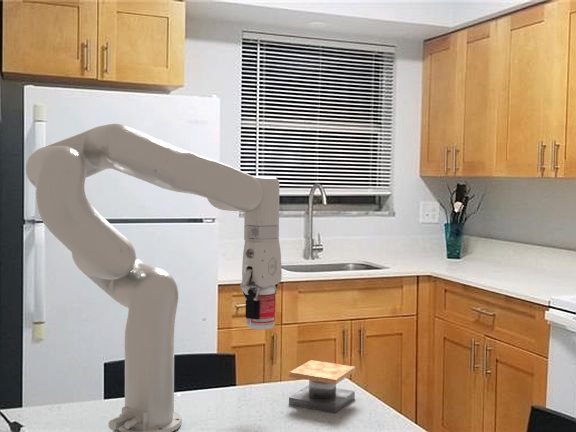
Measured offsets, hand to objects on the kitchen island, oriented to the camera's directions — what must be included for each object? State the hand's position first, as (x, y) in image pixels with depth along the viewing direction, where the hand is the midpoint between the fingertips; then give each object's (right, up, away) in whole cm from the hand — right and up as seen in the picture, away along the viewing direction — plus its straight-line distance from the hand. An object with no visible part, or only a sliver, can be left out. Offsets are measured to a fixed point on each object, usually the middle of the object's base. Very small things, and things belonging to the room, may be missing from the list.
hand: (260, 314), depth 144 cm
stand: (+14, -20, +3) cm, 24 cm away
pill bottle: (0, -3, 0) cm, 3 cm away
